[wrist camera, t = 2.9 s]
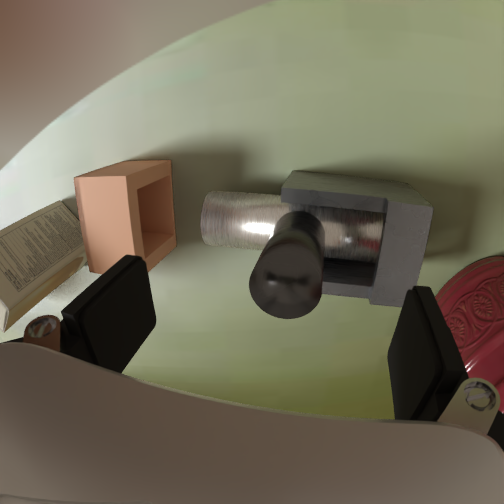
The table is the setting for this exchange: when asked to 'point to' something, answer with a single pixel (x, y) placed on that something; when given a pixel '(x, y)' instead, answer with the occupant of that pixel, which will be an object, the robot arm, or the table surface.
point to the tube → (288, 244)
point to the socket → (126, 213)
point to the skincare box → (37, 259)
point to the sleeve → (392, 237)
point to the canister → (478, 319)
